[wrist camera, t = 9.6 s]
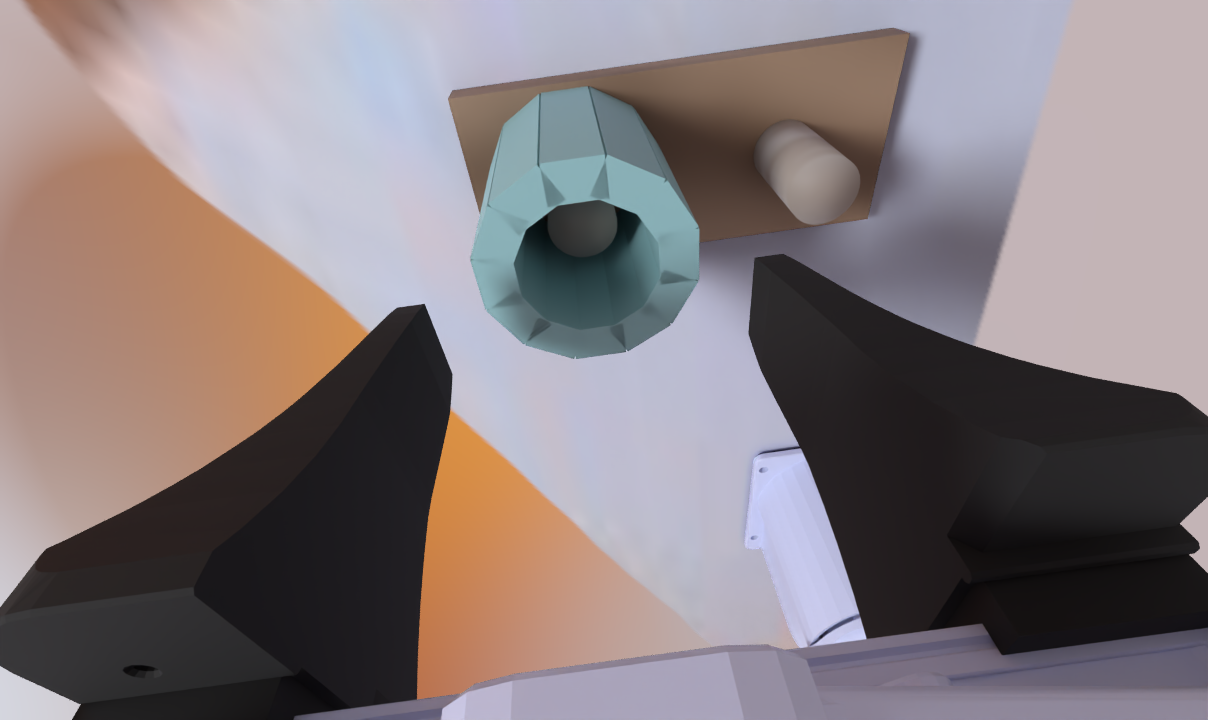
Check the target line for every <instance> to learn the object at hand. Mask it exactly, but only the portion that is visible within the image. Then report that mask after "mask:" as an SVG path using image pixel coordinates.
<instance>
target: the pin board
mask: <svg viewBox="0 0 1208 720" xmlns="http://www.w3.org/2000/svg"><path fill="white" fill-rule="evenodd" d="M909 34H910V33H908V32H904V31H901V30H898V29H895V28H888V29H881V30H874V31H867V32H860V33H853V34H846V35H839V36H832V37H825V38H818V39H811V40H804V41H797V42H790V43H783V44H776V45H769V46H762V47H755V48H748V49H741V50H734V51H727V52H720V53H713V54H706V55H699V56H692V57H685V58H678V59H671V60H664V61H657V62H649V63H642V64H635V65H628V66H621V67H614V68H607V69H600V70H593V71H586V72H579V73H572V74H565V75H558V76H551V77H544V78H537V79H530V80H523V81H516V82H509V83H502V84H495V85H488V86H481V87H474V88H467V89H460V90H453V91H452V92H451V94H450V96H449V98H448V101H449V105H450V108H451V112H452V115H453V119H454V123H455V126H456V130H457V133H458V137H459V140H460V144H461V148H462V151H463V155H464V158H465V162H466V166H467V169H468V173H469V176H470V180H471V184H472V187H473V191H474V194H475V198H476V202H477V205H478V209H479V212H481V207H482V203H483V198H484V194H485V189H486V184H487V180H488V175H489V170H490V166H491V163H492V160H493V157H494V153H495V150H496V147H497V143H498V140H499V137H500V133H501V130H502V127H503V126H504V124H505V123H506V122H507V121H508V120H509V119H510V118H511V117H513V116H514V115H515V114H516V113H517V112H518V111H520V110H521V109H522V108H523V107H524V106H525V105H526V104H528V103H529V102H530V101H531V100H532V99H533V98H535V97H536V96H537V95H538V94H540V95H541V93H543V92H550V91H557V90H564V89H571V88H578V87H585V86H588V89H589V87H592V88H594V89H597V90H599V91H601V92H603V93H605V94H607V95H610V96H612V97H614V98H616V99H618V100H621V101H623V102H625V103H627V104H629V105H631V106H633V107H634V108H635V110H636V111H637V113H638V114H639V116H640V117H641V119H642V121H643V122H644V124H645V125H646V127H647V128H648V130H649V131H650V133H651V134H652V136H653V137H654V139H655V140H656V142H657V143H658V145H659V147H660V149H661V151H662V153H663V155H664V157H665V159H666V161H667V163H668V165H669V167H670V169H671V171H672V173H673V175H674V177H675V179H676V182H677V184H678V186H679V188H680V190H681V192H682V194H683V196H684V198H685V200H686V202H687V204H688V206H689V208H690V210H691V212H692V214H693V216H694V218H695V220H696V222H697V224H698V226H699V242H706V241H713V240H721V239H728V238H735V237H742V236H749V235H756V234H763V233H770V232H777V231H785V230H792V229H799V228H806V227H813V226H820V225H827V224H834V223H841V222H849V221H856V220H863V219H868V215H869V210H870V206H871V202H872V197H873V193H874V188H875V184H876V180H877V175H878V171H879V166H880V162H881V158H882V153H883V149H884V144H885V140H886V136H887V131H888V127H889V122H890V118H891V114H892V109H893V105H894V100H895V96H896V92H897V87H898V83H899V78H900V74H901V70H902V65H903V61H904V56H905V52H906V48H907V43H908V39H909ZM620 209H621V208H620V207H617V206H614V205H612V204H609V203H607V202H604V201H602V200H593V201H586V202H579V203H572V204H565V205H558V206H556V207H555V208H554V209H553V210H551V211H550V212H549V213H547V214H546V215H545V216H543V217H542V218H543V219H544V220H545V221H547V222H548V232H549V235H550V238H551V240H552V242H553V243H554V244H555V246H556V247H557V248H558V249H560V250H561V251H562V252H564V253H566V254H568V255H571V256H574V257H590V256H593V255H596V254H598V253H600V252H602V251H604V250H605V249H606V248H607V247H608V246H609V245H610V244H611V243H612V241H613V239H614V237H615V235H616V232H617V217H616V213H617V212H618V211H620Z"/></svg>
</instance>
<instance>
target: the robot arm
mask: <svg viewBox="0 0 1208 720" xmlns="http://www.w3.org/2000/svg"><path fill="white" fill-rule="evenodd" d="M749 336H750V340H751V343H752V346H753V349H754V352H755V355H756V358H757V361H758V363H759V366H760V369H761V371H762V373H763V375H764V377H765V380H766V382H767V383H768V385H769V387H770V389H771V391H772V393H773V395H774V397H775V399H776V401H777V403H778V405H779V407H780V409H781V411H782V413H783V415H784V417H785V419H786V421H787V423H788V424H789V426H790V428H791V430H792V432H793V434H794V436H795V438H796V440H797V442H798V444H799V446H800V449H793V450H786V451H779V452H771V453H764V454H760V455H758V456H756V457H755V458H754V461H753V470H752V479H751V487H750V496H749V505H748V514H747V522H746V531H745V540H744V543H745V546H746V548H747V549H750V550H752V549H760V548H761V549H762V551H763V554H764V557H765V560H766V563H767V566H768V569H769V572H770V575H771V578H772V581H773V584H774V587H775V589H776V592H777V595H778V598H779V601H780V604H781V607H782V610H783V613H784V616H785V619H786V622H787V625H788V628H789V630H790V632H791V635H792V637H793V639H794V640H795V642H796V644H797V645H798V647H799V648H797V649H789V650H783V649H780V648H777V647H773V646H770V645H726V646H717V647H710V648H703V649H695V650H688V651H681V652H674V653H666V654H658V655H651V656H643V657H636V658H628V659H621V660H615V661H606V662H599V663H591V664H584V665H576V666H570V667H562V668H554V669H547V670H540V671H532V672H525V673H517V674H513V675H509V676H504V677H500V678H496V679H492V680H488V681H484V682H481V683H476V684H474V685H473V686H471V687H470V688H468V689H467V690H465V691H464V692H463V693H461V694H456V695H448V696H440V697H433V698H425V699H418V700H417V668H418V638H419V619H420V601H421V588H422V575H423V562H424V552H425V542H426V533H427V522H428V515H429V509H430V503H431V498H432V493H433V489H434V484H435V479H436V475H437V470H438V466H439V461H440V457H441V453H442V448H443V443H444V439H445V434H446V430H447V425H448V420H449V415H450V406H451V393H452V372H451V369H450V367H449V364H448V362H447V359H446V357H445V354H444V352H443V349H442V347H441V344H440V342H439V339H438V337H437V334H436V331H435V329H434V326H433V324H432V321H431V319H430V316H429V314H428V311H427V309H426V306H425V304H421V305H414V306H407V307H399V308H396V309H395V310H394V311H393V312H391V313H390V314H389V315H388V316H387V317H386V318H385V319H384V320H383V321H382V322H381V323H380V324H379V325H378V326H377V327H376V328H374V329H373V330H372V331H371V332H370V333H369V334H368V335H367V336H366V337H365V338H364V339H363V340H362V341H361V342H360V343H359V344H358V345H357V346H356V347H355V348H354V349H353V350H352V351H351V352H350V353H349V354H348V355H347V356H346V357H345V358H344V359H343V360H342V361H341V362H340V363H339V364H338V365H337V366H336V367H335V368H334V369H332V370H331V371H330V372H329V373H328V374H327V375H326V376H325V377H324V378H322V379H321V380H320V381H319V382H318V383H317V384H316V385H315V386H314V387H312V388H311V389H310V390H309V391H308V392H307V393H306V394H305V395H303V396H302V397H301V398H300V399H299V400H297V401H296V402H295V403H294V404H293V405H291V406H290V407H289V408H288V409H286V410H285V411H284V412H283V413H282V414H280V415H279V416H277V417H276V418H275V419H274V420H272V421H271V422H269V423H268V424H267V425H266V426H264V427H263V428H261V429H260V430H259V431H257V432H256V433H254V434H253V435H252V436H250V437H249V438H247V439H246V440H244V441H243V442H241V443H239V444H238V445H237V446H235V447H233V448H232V449H231V450H229V451H227V452H226V453H224V454H223V455H221V456H220V457H218V458H217V459H215V460H214V461H212V462H211V463H209V464H207V465H206V466H204V467H203V468H201V469H199V470H198V471H196V472H194V473H193V474H191V475H189V476H187V477H186V478H184V479H183V480H181V481H179V482H177V483H176V484H174V485H172V486H170V487H168V488H167V489H165V490H163V491H161V492H159V493H158V494H156V495H154V496H152V497H150V498H148V499H147V500H145V501H143V502H141V503H139V504H137V505H136V506H133V507H132V508H130V509H128V510H126V511H124V512H122V513H120V514H118V515H116V516H114V517H112V518H110V519H108V520H106V521H103V522H102V523H99V524H97V525H95V526H93V527H92V528H89V529H87V530H85V531H83V532H81V533H79V534H77V535H75V536H73V537H71V538H69V539H67V540H65V541H62V542H61V543H58V544H56V545H54V546H52V547H49V548H47V549H46V550H45V551H44V552H43V553H42V554H41V555H40V557H39V558H38V559H37V561H36V562H35V563H34V564H33V566H32V567H31V568H30V570H29V571H28V572H27V574H26V575H25V576H24V578H23V579H22V580H21V581H20V583H19V584H18V586H17V587H16V588H15V589H14V591H13V592H12V593H11V594H10V596H9V597H8V598H7V599H6V601H5V602H4V603H3V605H2V606H1V607H0V666H1V667H3V668H5V669H7V670H8V671H10V672H12V673H13V674H16V675H18V676H20V677H22V678H24V679H26V680H29V681H31V682H33V683H35V684H37V685H40V686H42V687H44V688H46V689H49V690H51V691H53V692H55V693H57V694H59V695H61V696H64V697H66V698H68V699H70V700H72V701H74V702H76V703H79V704H81V705H80V707H79V709H78V710H77V712H76V714H75V716H74V717H73V719H72V720H1208V573H1207V572H1206V571H1205V570H1204V569H1203V568H1202V567H1201V566H1200V565H1199V564H1198V563H1197V562H1196V561H1195V560H1194V559H1193V558H1192V557H1191V556H1189V554H1193V553H1195V552H1197V551H1198V550H1199V549H1200V546H1199V542H1198V541H1197V540H1196V539H1195V538H1194V537H1193V536H1192V535H1191V534H1190V533H1189V532H1188V531H1187V530H1186V529H1185V528H1184V527H1183V526H1182V525H1180V523H1181V522H1182V521H1183V520H1184V519H1185V518H1186V517H1187V516H1188V515H1189V514H1190V513H1191V512H1192V511H1193V510H1194V509H1195V508H1196V507H1197V506H1198V505H1199V504H1200V503H1202V502H1203V501H1204V500H1205V499H1206V497H1208V416H1207V415H1205V414H1204V413H1203V412H1201V411H1200V410H1199V409H1197V408H1196V407H1195V406H1194V405H1192V404H1191V403H1190V402H1188V401H1187V400H1186V399H1185V398H1183V397H1182V396H1180V395H1179V394H1177V393H1172V392H1167V391H1161V390H1156V389H1150V388H1145V387H1139V386H1134V385H1129V384H1123V383H1117V382H1113V381H1107V380H1102V379H1096V378H1092V377H1087V376H1082V375H1078V374H1074V373H1070V372H1066V371H1062V370H1057V369H1053V368H1049V367H1045V366H1040V365H1036V364H1033V363H1030V362H1026V361H1022V360H1018V359H1015V358H1011V357H1008V356H1005V355H1002V354H998V353H995V352H992V351H989V350H986V349H982V348H979V347H976V346H973V345H970V344H967V343H964V342H961V341H958V340H956V339H953V338H950V337H947V336H945V335H942V334H940V333H937V332H935V331H932V330H930V329H927V328H925V327H922V326H920V325H917V324H915V323H913V322H910V321H908V320H906V319H904V318H901V317H899V316H897V315H895V314H893V313H891V312H889V311H887V310H885V309H883V308H881V307H879V306H877V305H874V304H873V303H871V302H869V301H867V300H865V299H863V298H861V297H859V296H857V295H856V294H854V293H852V292H850V291H848V290H846V289H845V288H843V287H841V286H839V285H838V284H836V283H834V282H832V281H831V280H829V279H827V278H825V277H824V276H822V275H820V274H819V273H817V272H815V271H813V270H812V269H810V268H808V267H806V266H805V265H803V264H801V263H800V262H798V261H796V260H794V259H792V258H790V257H788V256H786V255H784V254H779V255H772V256H765V257H758V258H755V261H754V273H753V285H752V297H751V309H750V321H749Z"/></svg>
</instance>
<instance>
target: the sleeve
mask: <svg viewBox="0 0 1208 720" xmlns="http://www.w3.org/2000/svg"><path fill="white" fill-rule="evenodd" d="M593 200H602V201H604V202H607V203H609V204H612V205H614V206H617V207H620V208H621V209H620V211H618V212H617V213H616V217H617V232H616V235H615V237H614V239H613V241H612V243H611V244H610V245H609V246H608V247H607V248H606V249H605V250H604V251H602V252H600V253H598V254H596V255H593V256H590V257H574V256H571V255H568V254H566V253H564V252H562V251H561V250H560V249H558V248H557V247H556V246H555V244H554V243H553V242H552V240H551V238H550V235H549V232H548V222H547V221H545V220H544V219H543V218H542V217H543V216H545V215H546V214H547V213H549V212H550V211H551V210H553V209H554V208H555V207H556V206H558V205H565V204H572V203H579V202H586V201H593ZM470 259H471V264H472V268H473V271H474V274H475V277H476V280H477V284H478V287H479V290H480V293H481V297H482V300H483V303H484V306H485V309H487V312H488V313H489V314H490V315H491V316H493V317H494V318H495V319H496V320H497V321H498V322H499V323H500V324H502V325H503V326H504V327H505V328H506V329H507V330H508V331H509V332H510V333H512V334H513V335H514V336H515V337H516V338H517V339H518V340H519V341H521V342H522V343H523V344H525V343H526V346H530V347H533V348H537V349H541V350H544V351H548V352H551V353H555V354H558V355H562V356H566V357H569V358H573V359H574V358H575V356H576V359H579V358H587V357H594V356H601V355H608V354H615V353H622V352H626V350H627V351H629V350H631V349H633V348H634V347H636V346H637V345H639V344H641V343H642V342H644V341H646V340H647V339H649V338H650V337H652V336H654V335H655V334H657V333H659V332H660V331H662V330H664V329H665V328H667V327H668V326H670V325H671V324H670V323H673V322H674V320H675V318H676V317H677V315H678V313H679V312H680V310H681V309H682V307H683V305H684V304H685V302H686V301H687V299H688V297H689V296H690V294H691V293H692V291H693V289H694V288H695V286H696V284H697V283H698V280H699V226H698V224H697V222H696V220H695V218H694V216H693V214H692V212H691V210H690V208H689V206H688V204H687V202H686V200H685V198H684V196H683V194H682V192H681V190H680V188H679V186H678V184H677V182H676V179H675V177H674V175H673V173H672V171H671V169H670V167H669V165H668V163H667V161H666V159H665V157H664V155H663V153H662V151H661V149H660V147H659V145H658V143H657V142H656V140H655V139H654V137H653V136H652V134H651V133H650V131H649V130H648V128H647V127H646V125H645V124H644V122H643V121H642V119H641V117H640V116H639V114H638V113H637V111H636V110H635V108H634V107H633V106H631V105H629V104H627V103H625V102H623V101H621V100H618V99H616V98H614V97H612V96H610V95H607V94H605V93H603V92H601V91H599V90H597V89H594V88H592V87H589V89H588V86H585V87H578V88H571V89H564V90H557V91H550V92H543V93H541V95H540V94H538V95H537V96H536V97H535V98H533V99H532V100H531V101H530V102H529V103H528V104H526V105H525V106H524V107H523V108H522V109H521V110H520V111H518V112H517V113H516V114H515V115H514V116H513V117H511V118H510V119H509V120H508V121H507V122H506V123H505V124H504V126H503V127H502V130H501V133H500V137H499V140H498V143H497V147H496V150H495V153H494V157H493V160H492V163H491V166H490V170H489V175H488V180H487V184H486V189H485V194H484V198H483V203H482V207H481V212H480V217H479V221H478V226H477V231H476V235H475V240H474V245H473V249H472V254H471V258H470Z"/></svg>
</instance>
